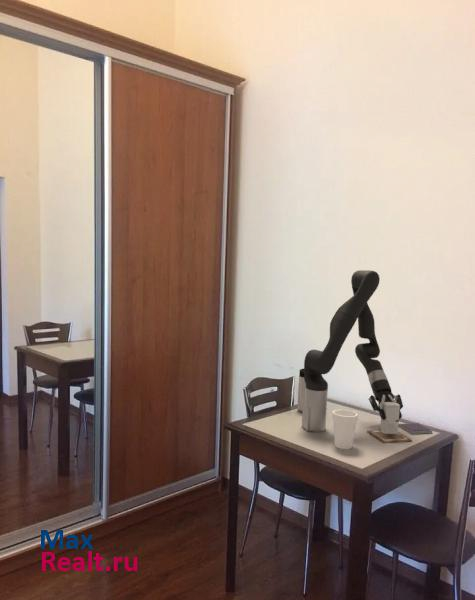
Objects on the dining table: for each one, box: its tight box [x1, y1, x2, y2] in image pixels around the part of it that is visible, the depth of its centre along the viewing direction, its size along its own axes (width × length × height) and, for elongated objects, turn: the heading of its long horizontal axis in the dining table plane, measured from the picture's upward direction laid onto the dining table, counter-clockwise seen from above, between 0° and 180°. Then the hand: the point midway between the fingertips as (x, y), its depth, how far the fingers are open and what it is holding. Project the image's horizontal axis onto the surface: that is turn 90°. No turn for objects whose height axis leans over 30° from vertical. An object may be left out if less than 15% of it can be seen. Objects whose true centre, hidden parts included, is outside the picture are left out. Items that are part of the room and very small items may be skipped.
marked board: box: [366, 429, 413, 444], centre depth 210 cm, size 13×13×1 cm
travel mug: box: [297, 368, 306, 414], centre depth 240 cm, size 6×7×20 cm
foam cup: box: [331, 409, 359, 450], centre depth 196 cm, size 10×9×13 cm
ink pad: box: [398, 422, 433, 435], centre depth 219 cm, size 10×10×1 cm
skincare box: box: [379, 402, 401, 434], centre depth 209 cm, size 6×4×12 cm
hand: (392, 418), depth 208 cm, fingers closed on skincare box, 6 cm apart
